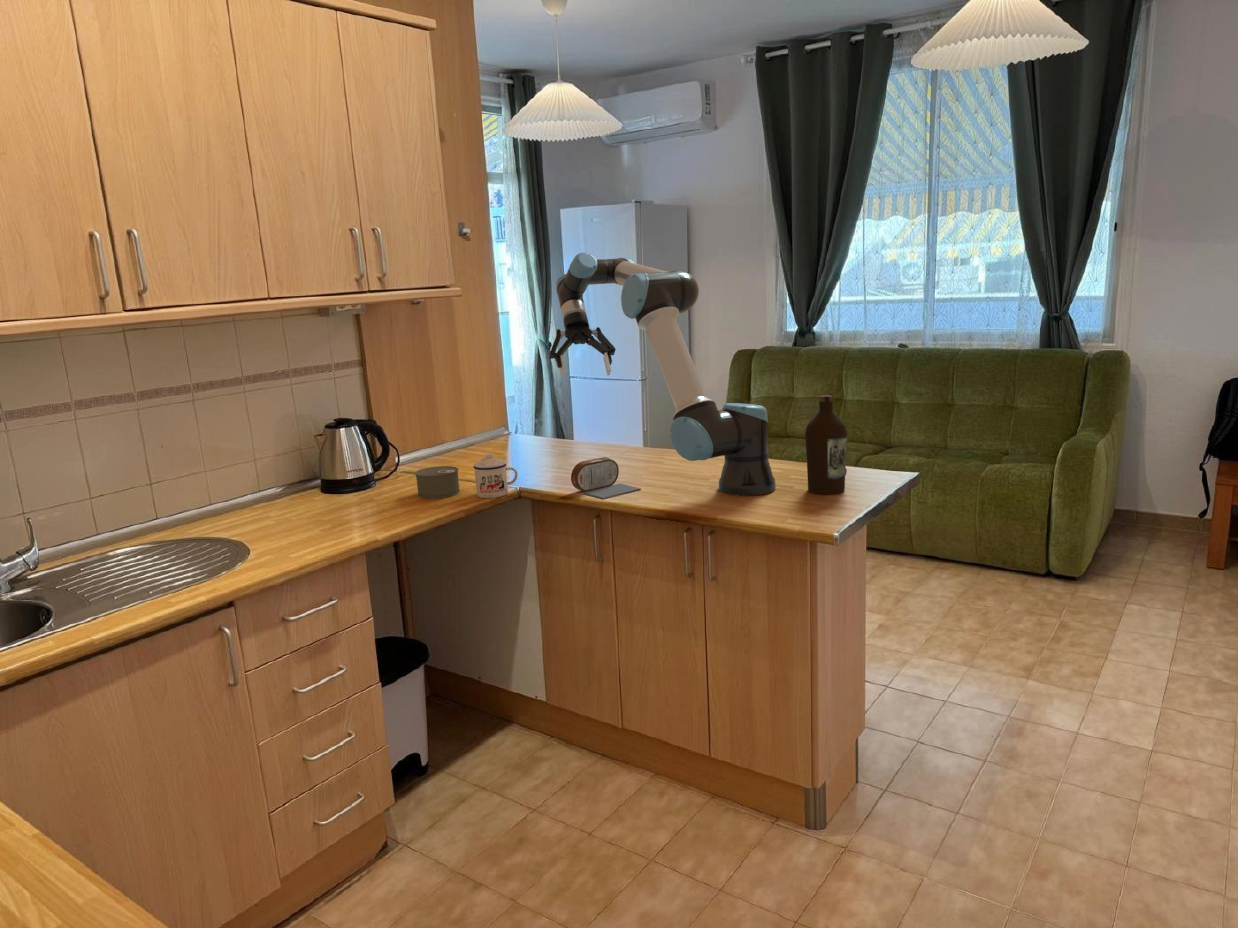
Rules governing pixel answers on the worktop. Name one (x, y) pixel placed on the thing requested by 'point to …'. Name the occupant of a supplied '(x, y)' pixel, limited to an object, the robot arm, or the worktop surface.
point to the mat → (612, 491)
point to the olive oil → (826, 450)
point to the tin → (594, 474)
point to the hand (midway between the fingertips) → (587, 374)
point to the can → (437, 482)
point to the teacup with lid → (492, 477)
